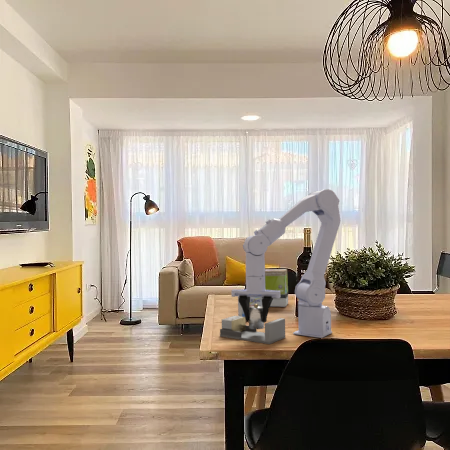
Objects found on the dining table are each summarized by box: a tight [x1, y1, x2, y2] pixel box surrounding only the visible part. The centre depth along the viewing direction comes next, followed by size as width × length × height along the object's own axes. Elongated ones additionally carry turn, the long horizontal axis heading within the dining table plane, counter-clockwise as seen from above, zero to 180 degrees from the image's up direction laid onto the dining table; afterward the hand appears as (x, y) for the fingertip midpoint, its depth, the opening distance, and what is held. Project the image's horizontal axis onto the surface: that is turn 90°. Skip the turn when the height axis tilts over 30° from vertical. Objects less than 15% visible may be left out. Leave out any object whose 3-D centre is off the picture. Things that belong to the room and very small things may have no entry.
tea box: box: [262, 268, 289, 308], centre depth 193 cm, size 15×10×15 cm
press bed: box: [219, 317, 286, 345], centre depth 139 cm, size 18×9×6 cm, turn 53°
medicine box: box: [237, 294, 262, 317], centre depth 169 cm, size 8×4×9 cm, turn 105°
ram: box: [221, 315, 246, 332], centre depth 143 cm, size 4×7×4 cm, turn 143°
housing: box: [248, 304, 265, 330], centre depth 138 cm, size 4×4×7 cm
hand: (256, 321), depth 138 cm, fingers closed on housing, 4 cm apart
